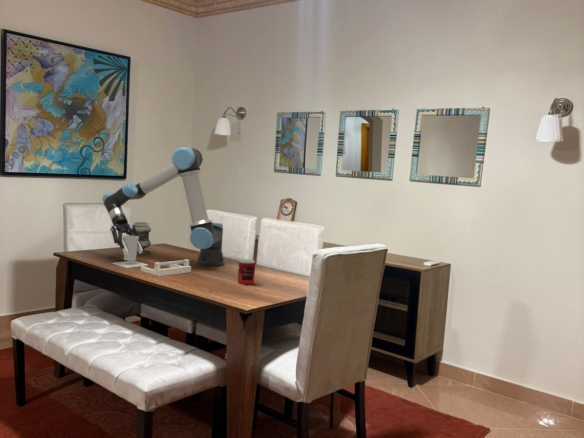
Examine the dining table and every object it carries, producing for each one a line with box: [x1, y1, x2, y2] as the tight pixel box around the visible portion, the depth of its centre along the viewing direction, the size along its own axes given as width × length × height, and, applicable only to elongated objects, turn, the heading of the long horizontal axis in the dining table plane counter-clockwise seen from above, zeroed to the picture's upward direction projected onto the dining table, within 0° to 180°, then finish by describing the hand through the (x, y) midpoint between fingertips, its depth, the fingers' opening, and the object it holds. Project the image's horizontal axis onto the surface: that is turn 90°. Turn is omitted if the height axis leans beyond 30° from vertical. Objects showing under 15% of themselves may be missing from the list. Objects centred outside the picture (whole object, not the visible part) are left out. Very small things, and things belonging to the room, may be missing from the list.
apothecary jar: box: [132, 221, 152, 255], centre depth 318 cm, size 12×12×18 cm
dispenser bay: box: [140, 258, 192, 277], centre depth 271 cm, size 16×20×6 cm
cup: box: [122, 235, 139, 261], centre depth 281 cm, size 8×8×12 cm
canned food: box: [237, 258, 256, 286], centre depth 256 cm, size 8×8×11 cm
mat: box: [112, 260, 149, 269], centre depth 282 cm, size 13×13×1 cm
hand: (134, 252), depth 279 cm, fingers closed on cup, 8 cm apart
